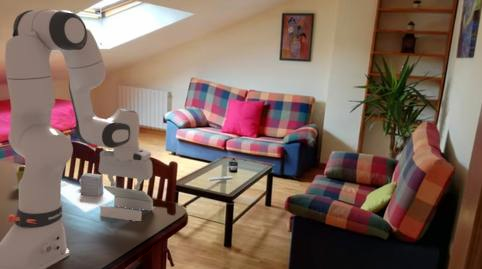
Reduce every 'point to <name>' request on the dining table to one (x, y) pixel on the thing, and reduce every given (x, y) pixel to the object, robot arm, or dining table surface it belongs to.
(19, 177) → the flower pot
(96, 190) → the medicine box
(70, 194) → the dining table surface
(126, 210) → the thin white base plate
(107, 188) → the lid
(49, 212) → the robot arm
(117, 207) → the blue-grey rectangular bar
